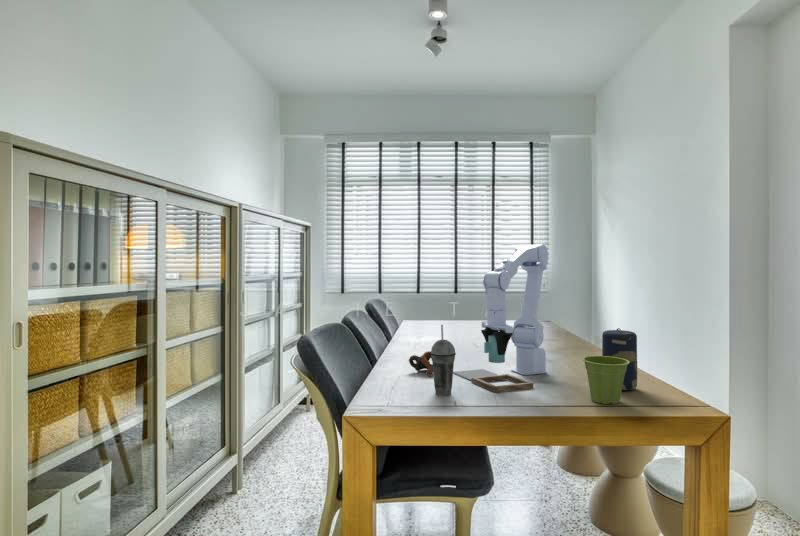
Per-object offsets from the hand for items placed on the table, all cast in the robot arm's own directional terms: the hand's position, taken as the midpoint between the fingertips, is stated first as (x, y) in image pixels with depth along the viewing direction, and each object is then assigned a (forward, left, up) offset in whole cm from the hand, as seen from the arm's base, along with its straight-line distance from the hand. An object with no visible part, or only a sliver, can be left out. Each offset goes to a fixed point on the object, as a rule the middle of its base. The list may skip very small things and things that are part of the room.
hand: (496, 353), depth 157 cm
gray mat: (0, -12, -9) cm, 15 cm away
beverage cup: (+21, +5, -10) cm, 24 cm away
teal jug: (0, 0, -3) cm, 2 cm away
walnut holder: (0, +3, -9) cm, 10 cm away
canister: (-30, +20, -10) cm, 37 cm away
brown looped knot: (+14, -22, -10) cm, 28 cm away
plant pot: (-16, +29, -10) cm, 34 cm away
